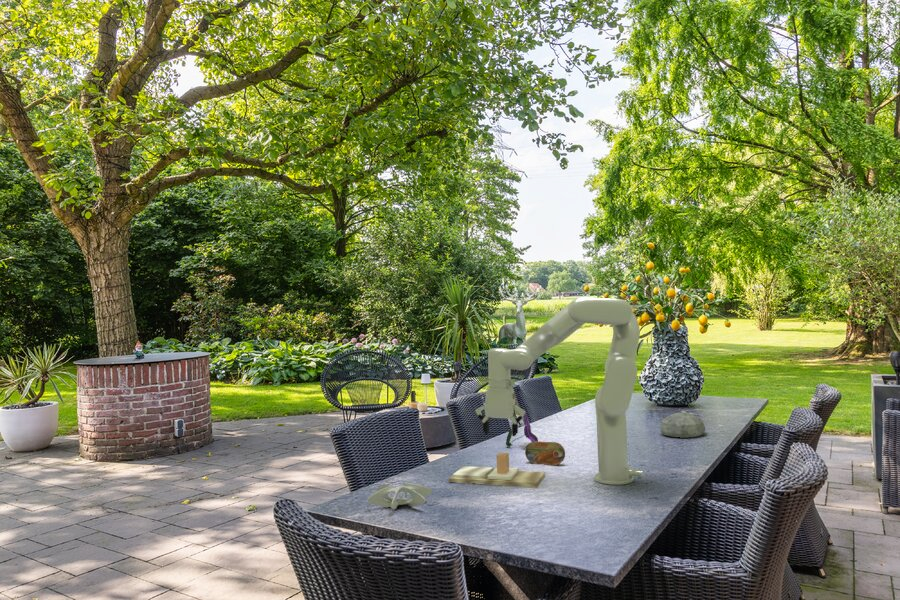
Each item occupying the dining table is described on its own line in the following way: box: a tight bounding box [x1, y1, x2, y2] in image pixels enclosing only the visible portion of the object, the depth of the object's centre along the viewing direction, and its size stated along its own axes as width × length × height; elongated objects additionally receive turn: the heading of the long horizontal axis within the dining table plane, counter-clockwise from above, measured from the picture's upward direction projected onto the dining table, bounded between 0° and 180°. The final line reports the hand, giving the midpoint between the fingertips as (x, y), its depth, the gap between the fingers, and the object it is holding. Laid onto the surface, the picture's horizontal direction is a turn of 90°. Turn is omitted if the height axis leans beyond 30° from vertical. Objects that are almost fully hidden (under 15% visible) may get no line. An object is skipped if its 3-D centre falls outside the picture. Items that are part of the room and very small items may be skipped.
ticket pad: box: [448, 465, 546, 489], centre depth 212 cm, size 30×14×3 cm, turn 71°
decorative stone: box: [659, 410, 706, 439], centre depth 276 cm, size 18×21×10 cm
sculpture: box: [367, 481, 433, 510], centre depth 187 cm, size 18×20×6 cm
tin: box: [524, 440, 566, 466], centre depth 232 cm, size 15×3×8 cm, turn 62°
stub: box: [488, 452, 520, 480], centre depth 212 cm, size 8×12×7 cm, turn 161°
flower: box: [505, 410, 539, 447], centre depth 262 cm, size 15×15×14 cm
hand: (500, 434), depth 212 cm, fingers open, 9 cm apart
